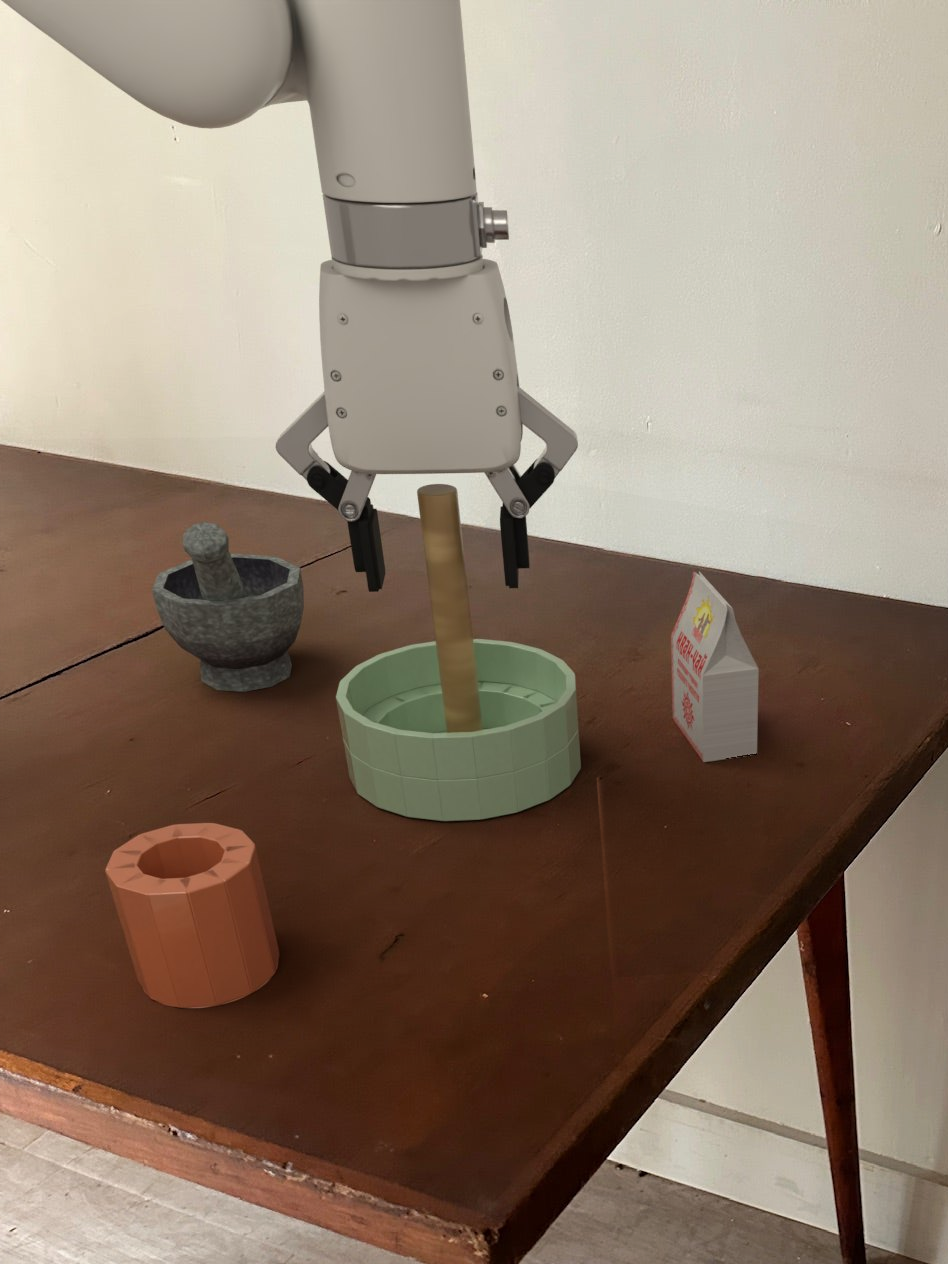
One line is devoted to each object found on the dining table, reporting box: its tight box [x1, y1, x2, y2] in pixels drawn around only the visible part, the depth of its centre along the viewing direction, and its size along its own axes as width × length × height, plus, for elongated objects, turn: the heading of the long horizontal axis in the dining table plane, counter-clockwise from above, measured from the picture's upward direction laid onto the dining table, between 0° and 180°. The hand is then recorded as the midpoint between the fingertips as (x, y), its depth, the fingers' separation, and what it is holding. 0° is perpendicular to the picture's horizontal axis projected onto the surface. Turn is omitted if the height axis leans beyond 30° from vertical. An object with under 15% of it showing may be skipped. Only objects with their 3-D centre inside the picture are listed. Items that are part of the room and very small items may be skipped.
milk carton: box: [670, 571, 760, 763], centre depth 92 cm, size 4×7×10 cm, turn 20°
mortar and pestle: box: [151, 521, 305, 693], centre depth 97 cm, size 11×9×12 cm
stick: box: [416, 483, 483, 733], centre depth 85 cm, size 2×2×17 cm
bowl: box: [335, 638, 582, 822], centre depth 88 cm, size 14×14×6 cm
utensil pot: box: [104, 822, 281, 1009], centre depth 70 cm, size 7×7×7 cm
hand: (445, 579), depth 83 cm, fingers open, 7 cm apart
